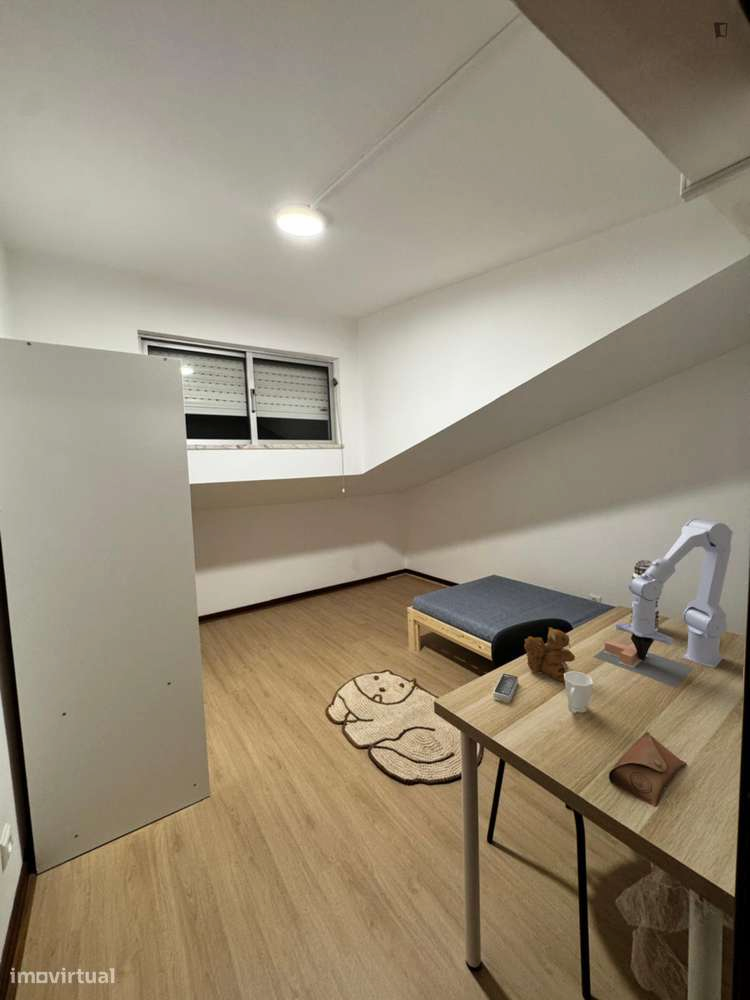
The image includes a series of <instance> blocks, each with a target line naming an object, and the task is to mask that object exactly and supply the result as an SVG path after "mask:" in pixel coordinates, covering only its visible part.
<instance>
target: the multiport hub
mask: <svg viewBox="0 0 750 1000" xmlns="http://www.w3.org/2000/svg"><path fill="white" fill-rule="evenodd" d="M517 684H518V685H519V677H518V676H517V675H513V674H508V673H504V672H503V673H502V674H501V675H500V678H499V680H498V682H497V684H496V686H495V688H494V690H493V697H494V698H497V699H500V700H503V701H506V702H510V701H512V699H513V697H514V695H515V692H516V690H515V689H517V687H518V685H517ZM514 691H515V692H514ZM513 694H514V695H513ZM512 696H513V697H512ZM494 698H493V699H494ZM511 698H512V699H511ZM503 701H502V702H503ZM506 702H505V703H506ZM510 703H511V702H510Z"/></svg>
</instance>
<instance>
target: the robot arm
mask: <svg viewBox="0 0 750 1000" xmlns="http://www.w3.org/2000/svg"><path fill="white" fill-rule="evenodd" d="M733 533H734V531H733V530H732V529H731V528H730V527H729V526H728V525H727V524H726V523H723V522H715V521H708V520H705V519H699V518H691V519H690V520H688V521H687V522H686V523H685V525H684V526H683V527H682V528H681V534H680V536H679V537H678V538H677V540H676V541H675V542H674V544H673V545H672V546H671V548H670V549H669V550H668V551H667V552H666V553H665V555H664V556H663V557H662V558H657V559H655V560H653V561H652V563H651V566H650V567H649V568H648V569H647V570H646V571H645V572H644V573H643V574H642V575H641V576H640V577H638V578H635V579H633V578H632V579H633V580H632V579H631V580H632V581H631V580H630V584H629V585H628V589H629V591H630V592H631V597H632V603H633V614H632V615H633V618H631V619H632V625H631V624H627V623H623V622H617V623H616V626H615V630H616V631H621V632H622V631H623V632H626V633H630V634H632V635H631V636H630V639H631V641H632V644H633V643H634V645H635V647H636V650H637V653H638V658H639V659H640V660H645V659H646V655H647V652H648V651H649V649H650V647H651V646H652V644H653V643H654V642H656V641H657V642H659V643H663V644H665V645H666V646H669V647H670V646H671V645H673V637H671V636H670V635H667V634H664V633H661V632H658V631H655V608H656V599H657V598H658V597H659V598H660V597H661V595H662V592H663V591H662V590H663V588H664V586H665V583H666V582H668V581H669V579H671V577H672V576H673V575H674V574H675V573H676V565H677V564H678V563H679V562H680V561H681V560H682V559H683V558H685V556H687V555H688V554H689V553H690V552H691V551H692V550H694V548H698V547H699V548H700V547H702V548H703V549H704V551H705V556H704V560H703V565H702V569H701V575H700V579H699V583H698V587H697V588H698V589H697V592H696V597H695V599H694V600H690V601H688V602H687V606H686V608H685V610H684V611H683V613H682V620H683V622H684V623H685V625H686V628H687V629H688V635H687V652H686V653H685V654H684V655H683V656H682V659H685V660H688V661H691V662H693V663H694V662H695V663H697V664H700V665H701V664H702V665H704V666H708V667H711V668H713V669H715V668H717V666H718V665H719V664H720V663H721V661H722V660H723V659H724V658H723V656H721V655H720V642H721V641H720V640H721V639H720V638H721V637H722V636H723V635H724V634H725V632H726V631H727V627H728V626H727V624H728V623H727V613H726V612H725V611H724V610H723V608H722V607H721V606H720V601H721V597H722V592H723V588H724V584H725V578H726V574H727V569H728V564H729V560H730V555H731V551H732V545H731V542H732V538H733ZM648 653H649V652H648Z"/></svg>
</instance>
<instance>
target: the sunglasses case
mask: <svg viewBox="0 0 750 1000" xmlns="http://www.w3.org/2000/svg"><path fill="white" fill-rule="evenodd" d="M686 765H687V762H685V761H683V760H682V759H680V758H679V757H678V756H676V754H674V753H673V752H672V751H670V750H669V749H668V748H667V747H665V746H664V745H663V744H662V743H661V742H660V741H658V740H657V739H656V738H655V737H653V736H652V735H651V733H650V732H649V731H646V732H644V733H643V735H642V736H640V737H639V738H638V739H637V740H636V741H635V742H634V743H633V744H632V745H631V746H630V748H628V749H627V751H626V752H624V754H623V755H622V756H621V757H620V758H619V759H618V760H617V762H616V763H615V764H614V766H613V767H612V768H611V770H609V773H608V779H609V782H610V783H611V784H613V785H615V786H616V787H617V788H618V787H619V789H621V790H623V791H625V792H627V793H629V794H630V795H632V796H634V797H636V798H638V799H639V800H642V801H643V802H644V803H646V804H649V805H650V806H652V808H656V807H657V806H658V804H659V801H660V798H661V797H662V795H663V792H664V791H665V789H666V788H667V787H668V786H669V784H670V783H671V781H672V780H673V779H674V777H675V776H676V775H677V773H678V772H679V771H680V770H681V769H682V768H684V767H686Z"/></svg>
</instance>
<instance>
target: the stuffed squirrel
mask: <svg viewBox="0 0 750 1000" xmlns="http://www.w3.org/2000/svg"><path fill="white" fill-rule="evenodd" d="M547 633H548V634H547V642H546V643H545V642H544V640H543V638H542V637H538V636H537V637H533V636H528V637H527V638H525V639H524V642H525V643H524V645H523V646H524V650H525V652H526V654H525V656H527V658H526V659H527V665H528V667H529V669H530V670H531V671H533V672H534V673H536V674H540V672H542V674H545V675H546V676H547V677H550V678H552V679H553V680H555V681H558V682H563V683H565V679H564V673H567V667H568V664H567V663H566V662H570V663H571V662H574V660H575V659H576V656H575V655H574V653H573V652H571V650H570V649H571V645H570V637H569V635H568V634H566V633H565V632H564V631H562V630H560V629H554V628H553V627H548V632H547ZM566 647H569V649H568V648H566Z"/></svg>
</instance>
